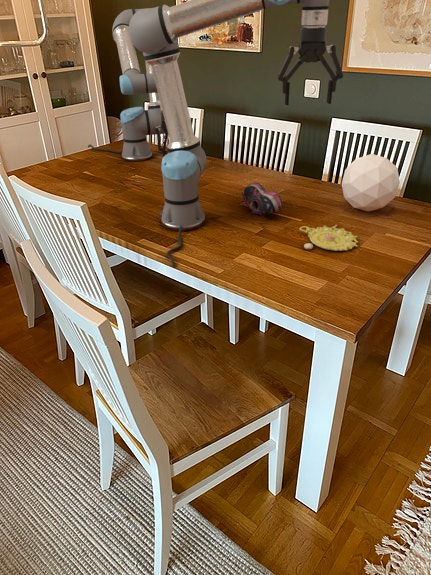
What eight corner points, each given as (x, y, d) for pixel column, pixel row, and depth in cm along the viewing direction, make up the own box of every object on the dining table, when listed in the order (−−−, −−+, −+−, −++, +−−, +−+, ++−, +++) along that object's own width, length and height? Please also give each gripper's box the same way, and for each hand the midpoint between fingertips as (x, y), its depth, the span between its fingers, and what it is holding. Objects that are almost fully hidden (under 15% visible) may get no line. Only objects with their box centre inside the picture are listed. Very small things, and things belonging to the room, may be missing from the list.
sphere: (373, 230, 162) (391, 201, 143) (326, 202, 166) (337, 171, 147) (398, 193, 166) (419, 160, 148) (352, 167, 171) (366, 133, 152)
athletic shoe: (254, 181, 170) (227, 189, 167) (283, 176, 151) (253, 185, 147) (260, 210, 173) (234, 218, 170) (290, 209, 154) (261, 219, 150)
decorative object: (343, 255, 128) (285, 234, 139) (342, 262, 130) (284, 241, 140) (372, 230, 142) (317, 213, 152) (371, 237, 143) (316, 219, 153)
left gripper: (147, 114, 182) (153, 169, 194) (191, 112, 182) (194, 167, 195) (148, 110, 188) (154, 164, 201) (190, 108, 189) (193, 162, 201)
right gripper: (273, 28, 127) (270, 107, 138) (359, 26, 127) (349, 104, 139) (269, 27, 133) (267, 102, 145) (351, 25, 134) (343, 100, 145)
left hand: (173, 165), depth 198 cm, fingers closed on block, 5 cm apart
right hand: (307, 103), depth 142 cm, fingers open, 13 cm apart
